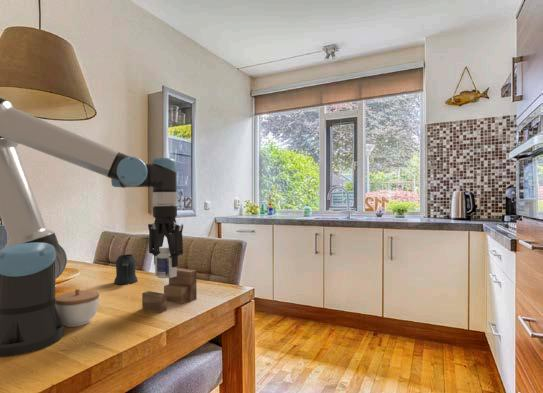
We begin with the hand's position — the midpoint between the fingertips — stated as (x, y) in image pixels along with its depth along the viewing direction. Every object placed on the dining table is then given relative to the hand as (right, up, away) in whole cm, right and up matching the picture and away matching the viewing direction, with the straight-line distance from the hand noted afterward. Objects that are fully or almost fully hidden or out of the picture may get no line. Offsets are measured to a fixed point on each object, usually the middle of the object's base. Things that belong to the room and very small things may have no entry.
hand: (166, 275), depth 104 cm
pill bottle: (0, -1, 0) cm, 1 cm away
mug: (-26, -10, +28) cm, 40 cm away
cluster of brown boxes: (+1, -10, +1) cm, 10 cm away
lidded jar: (-20, -10, -15) cm, 27 cm away
